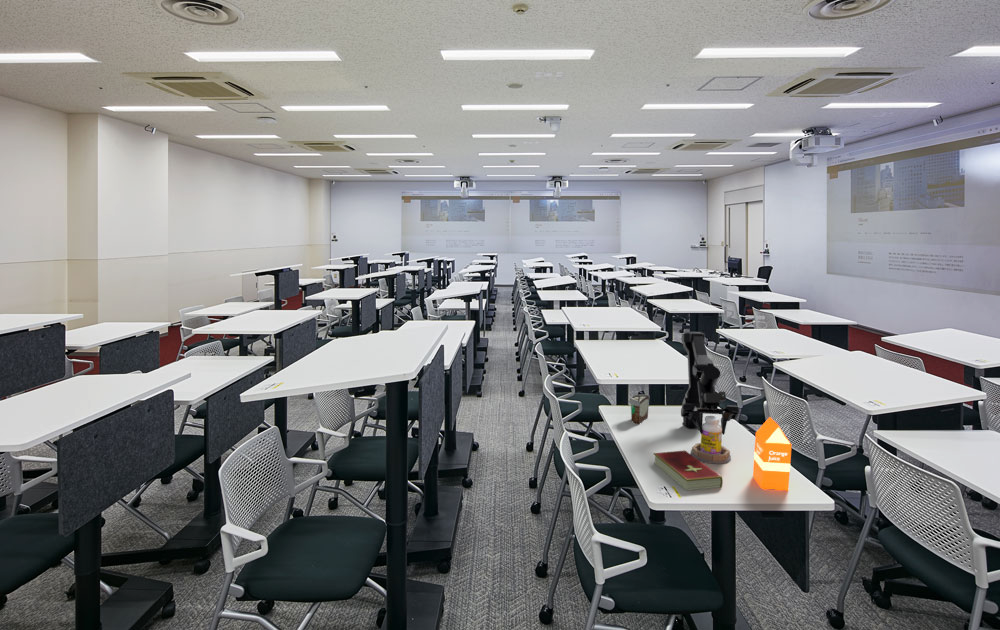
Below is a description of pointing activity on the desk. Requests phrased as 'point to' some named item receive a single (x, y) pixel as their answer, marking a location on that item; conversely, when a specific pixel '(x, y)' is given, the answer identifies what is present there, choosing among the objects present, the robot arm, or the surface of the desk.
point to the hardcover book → (688, 470)
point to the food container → (639, 407)
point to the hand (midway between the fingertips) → (712, 433)
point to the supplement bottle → (711, 436)
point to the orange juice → (772, 457)
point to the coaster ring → (709, 458)
